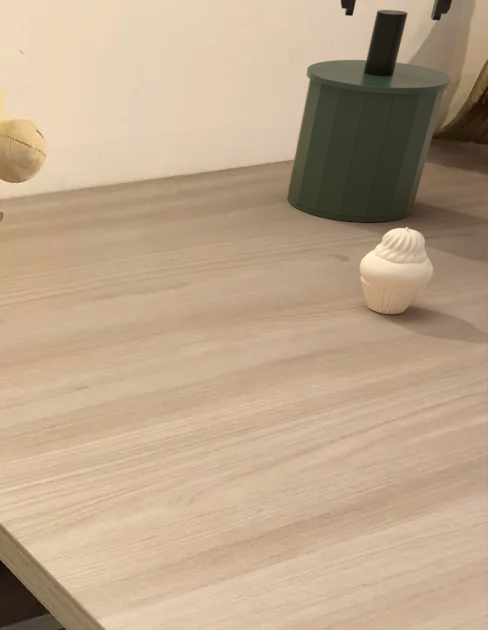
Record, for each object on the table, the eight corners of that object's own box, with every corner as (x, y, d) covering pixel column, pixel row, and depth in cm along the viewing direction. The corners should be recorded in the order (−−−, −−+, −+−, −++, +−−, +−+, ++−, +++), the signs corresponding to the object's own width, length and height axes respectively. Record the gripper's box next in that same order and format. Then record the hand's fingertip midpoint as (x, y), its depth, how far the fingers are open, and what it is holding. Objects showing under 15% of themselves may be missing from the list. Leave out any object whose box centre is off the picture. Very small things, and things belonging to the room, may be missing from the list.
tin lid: (439, 77, 114) (458, 5, 109) (455, 105, 103) (477, 27, 98) (304, 68, 116) (317, -2, 112) (305, 95, 105) (320, 19, 101)
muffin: (340, 296, 95) (358, 216, 90) (403, 294, 95) (425, 215, 91) (366, 322, 90) (388, 239, 85) (433, 320, 90) (458, 238, 86)
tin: (405, 191, 121) (437, 71, 113) (416, 227, 111) (451, 97, 103) (287, 182, 123) (310, 63, 115) (286, 216, 113) (311, 88, 105)
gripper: (514, -186, 97) (459, 15, 107) (357, -191, 99) (319, 7, 109) (527, -186, 91) (469, 27, 101) (361, -190, 93) (320, 18, 104)
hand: (391, 16), depth 105 cm, fingers open, 8 cm apart
